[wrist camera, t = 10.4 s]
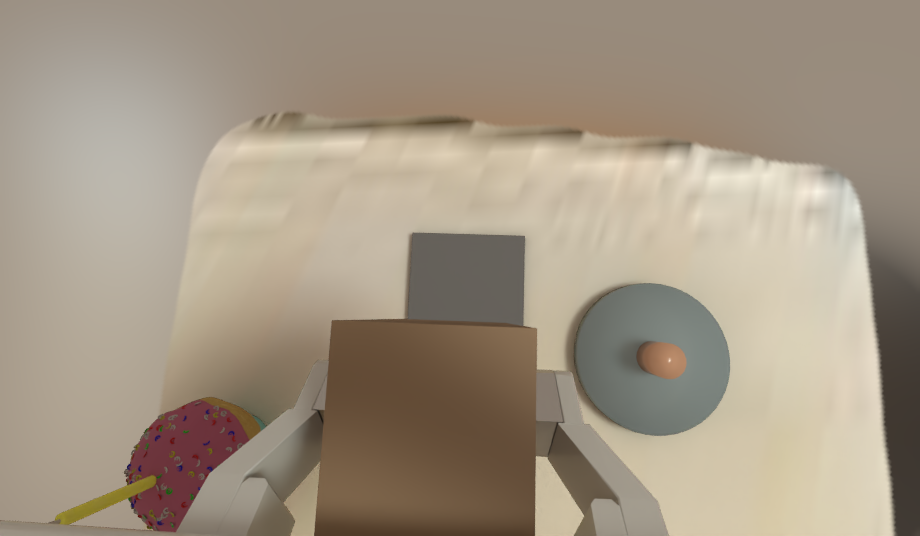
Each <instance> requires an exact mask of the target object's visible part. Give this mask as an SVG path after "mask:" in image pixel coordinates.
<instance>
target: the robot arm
mask: <svg viewBox="0 0 920 536" xmlns="http://www.w3.org/2000/svg"><path fill="white" fill-rule="evenodd" d="M328 363H329V360H317V361H316V363H315V364H314V365H313V367H312V369H311V371H310V374H309V376H308V378H307V380H306V382H305V384H304V387H303V389H302V391H301V393H300V395H299V397H298V400H297V402H296V404H295V406H294V408H293V409H287V410H286V411H285V412H284V413H283V414H281V415H280V416H279V417H278V418H276V419H275V420H274V421H273V422H272V423H270V424H269V425H268V426H267V427H265V428H264V429H263V430H262V431H261V432H259V433H258V434H257V435H256V436H254V437H253V438H252V439H251V440H250V441H248V442H247V443H246V444H245V445H243V446H242V447H241V448H240V449H239V450H237V451H236V452H235V453H234V454H232V455H231V456H230V457H229V458H228V459H226V460H225V461H224V462H223V463H222V464H220V465H219V466H218V467H217V468H215V469H214V470H213V471H212V472H211V473H209V475H208V477H207V479H206V480H205V482H204V484H203V486H202V487H201V489H200V491H199V493H198V494H197V496H196V498H195V500H194V501H193V503H192V505H191V507H190V508H189V510H188V512H187V514H186V515H185V517H184V519H183V521H182V522H181V524H180V526H179V528H178V529H177V531H176V532H165V531H151V530H136V529H120V528H107V527H93V526H77V525H64V524H49V523H34V522H18V521H4V520H0V536H290V535H291V532H292V529H293V526H294V523H295V520H294V518H293V516H292V514H291V513H290V511H289V510H288V509H287V507H286V506H285V505H284V503H283V502H284V501H285V500H286V499H287V498H288V497H289V496H290V494H291V493H292V492H293V491H294V490H295V489H296V488H297V487H298V485H299V484H300V483H301V482H302V481H303V480H304V479H305V477H306V476H307V475H308V474H309V473H310V472H311V471H312V469H313V468H314V467H315V466H316V465H317V464H318V463H319V462H320V460H321V448H322V436H323V424H324V411H325V399H326V387H327V375H328ZM536 456H541V457H548V460H549V461H550V463H551V464H552V466H553V468H554V469H555V471H556V472H557V474H558V475H559V477H560V479H561V480H562V482H563V483H564V485H565V486H566V488H567V489H568V491H569V493H570V494H571V496H572V497H573V499H574V500H575V502H576V504H577V505H578V507H579V508H580V510H581V511H582V513H583V514H584V518H583V520H582V522H581V523H580V525H579V527H578V529H577V531H576V533H575V535H574V536H669V534H668V531H667V528H666V525H665V522H664V519H663V516H662V513H661V510H660V507H659V504H658V501H657V500H656V499H655V498H654V497H653V495H652V494H651V493H650V492H649V491H648V490H647V489H646V488H645V486H644V485H643V484H642V483H641V482H640V481H639V480H638V479H637V477H636V476H635V475H634V474H633V473H632V472H631V471H630V470H629V468H628V467H627V466H626V465H625V464H624V463H623V462H622V461H621V459H620V458H619V457H618V456H617V455H616V454H615V453H614V451H613V450H612V449H611V448H610V447H609V446H608V445H607V444H606V442H605V441H604V440H603V439H602V438H601V437H600V436H599V435H598V433H597V432H596V431H595V430H594V429H593V428H592V427H591V426H590V425H589V424H584V421H583V416H582V412H581V408H580V403H579V399H578V394H577V390H576V386H575V381H574V377H573V374H572V372H571V371H553V370H536Z"/></svg>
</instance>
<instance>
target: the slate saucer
mask: <svg viewBox="0 0 920 536" xmlns="http://www.w3.org/2000/svg"><path fill="white" fill-rule="evenodd" d="M574 360H575V367H576V372H577V375H578V378H579V381H580V383H581V385H582V387H583V389H584V391H585V393H586V394H587V396H588V397H589V399H590V400H591V401H592V403H593V404H594V405H595V406H596V407H597V408H598V409H599V410H600V411H601V412H602V413H603V414H605V415H606V416H607V417H609V418H610V419H611V420H613V421H614V422H616V423H617V424H619V425H621V426H623V427H624V428H627V429H629V430H632V431H634V432H637V433H641V434H645V435H654V436H666V435H672V434H677V433H681V432H684V431H687V430H689V429H691V428H693V427H695V426H696V425H698V424H700V423H701V422H703V421H704V420H705V419H706V418H707V417H708V416H709V415H710V414H711V413H712V412H713V411H714V410H715V409H716V407H717V406H718V404H719V403H720V401H721V399H722V397H723V395H724V393H725V391H726V387H727V384H728V380H729V373H730V357H729V350H728V346H727V342H726V339H725V337H724V334H723V332H722V330H721V328H720V326H719V324H718V322H717V321H716V320H715V318H714V317H713V315H712V314H711V313H710V312H709V311H708V310H707V309H706V308H705V307H704V306H703V305H702V304H701V303H700V302H699V301H697V300H696V299H695V298H693V297H692V296H690V295H689V294H687V293H685V292H683V291H681V290H678V289H676V288H673V287H670V286H666V285H661V284H652V283H649V284H636V285H630V286H626V287H623V288H619V289H616V290H614V291H612V292H610V293H608V294H607V295H605V296H603V297H602V298H601V299H599V300H598V301H597V302H596V303H595V304H594V305H593V306H592V307H591V308H590V309H589V310H588V312H587V313H586V315H585V316H584V318H583V320H582V322H581V324H580V326H579V328H578V331H577V334H576V339H575V346H574Z"/></svg>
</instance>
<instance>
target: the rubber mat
mask: <svg viewBox="0 0 920 536" xmlns="http://www.w3.org/2000/svg"><path fill="white" fill-rule="evenodd" d="M524 253H525V236H509V235H475V234H441V233H413V237H412V254H411V271H410V289H409V306H408V319H418V320H444V321H470V322H496V323H509V324H515V325H520V326H523V310H524Z"/></svg>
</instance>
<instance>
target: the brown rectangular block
mask: <svg viewBox="0 0 920 536" xmlns="http://www.w3.org/2000/svg"><path fill="white" fill-rule="evenodd" d="M536 370H537V329H536V328H531V327H526V326H520V325H515V324H509V323H496V322H470V321H444V320H418V319H378V320H334V321H332V327H331V339H330V351H329V363H328V375H327V387H326V399H325V411H324V424H323V436H322V448H321V460H320V472H319V484H318V496H317V508H316V521H315V533H314V536H535V466H536Z"/></svg>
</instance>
